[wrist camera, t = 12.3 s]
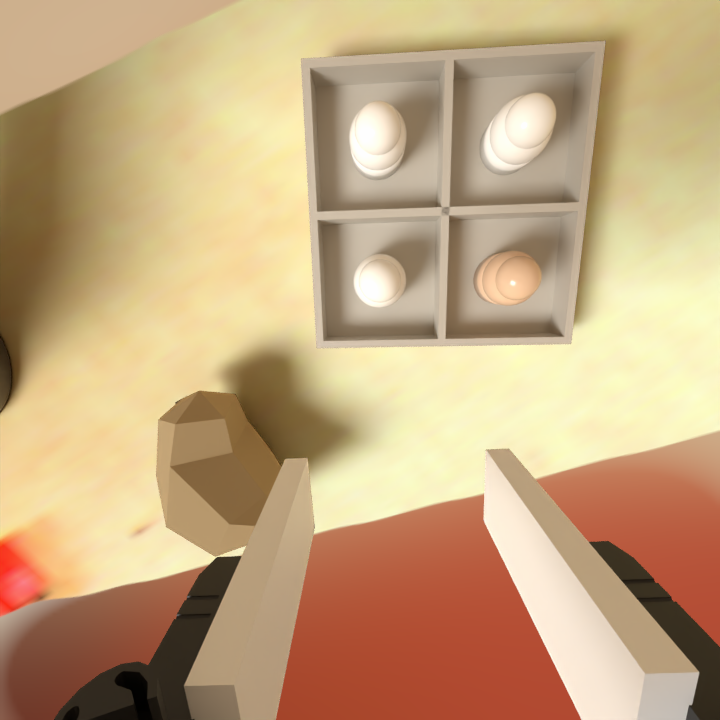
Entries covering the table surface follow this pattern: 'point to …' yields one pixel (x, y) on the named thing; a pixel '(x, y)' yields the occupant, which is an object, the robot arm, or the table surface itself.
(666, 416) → the table surface
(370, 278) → the white egg
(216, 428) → the low-poly potato
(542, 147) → the white egg
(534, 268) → the brown egg
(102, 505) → the table surface
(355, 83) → the carton
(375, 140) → the white egg
